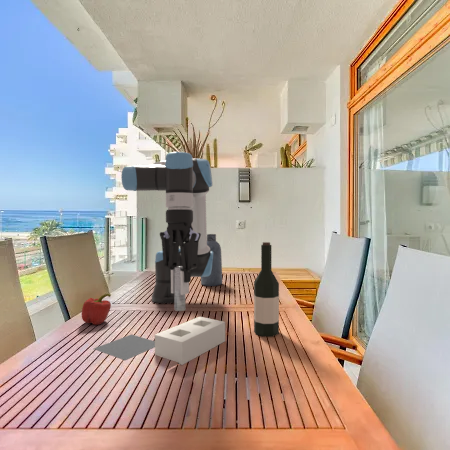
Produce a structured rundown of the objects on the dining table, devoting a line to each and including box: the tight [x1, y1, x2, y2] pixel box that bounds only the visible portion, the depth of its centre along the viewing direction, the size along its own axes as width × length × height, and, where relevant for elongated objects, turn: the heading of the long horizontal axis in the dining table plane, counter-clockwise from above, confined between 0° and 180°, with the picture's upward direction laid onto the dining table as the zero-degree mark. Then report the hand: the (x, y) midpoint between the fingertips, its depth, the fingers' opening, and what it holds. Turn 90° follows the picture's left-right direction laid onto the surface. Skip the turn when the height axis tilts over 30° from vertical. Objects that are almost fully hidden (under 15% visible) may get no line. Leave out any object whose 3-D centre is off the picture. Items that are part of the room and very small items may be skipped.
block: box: [154, 316, 226, 366], centre depth 98 cm, size 20×10×6 cm, turn 146°
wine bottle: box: [253, 241, 280, 338], centre depth 111 cm, size 8×8×30 cm
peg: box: [174, 266, 186, 312], centre depth 94 cm, size 3×3×12 cm
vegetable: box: [81, 293, 112, 326], centre depth 122 cm, size 11×10×10 cm
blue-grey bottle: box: [200, 233, 223, 287], centre depth 190 cm, size 12×12×28 cm
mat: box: [93, 334, 155, 361], centre depth 99 cm, size 14×14×1 cm
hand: (180, 292), depth 94 cm, fingers closed on peg, 3 cm apart
